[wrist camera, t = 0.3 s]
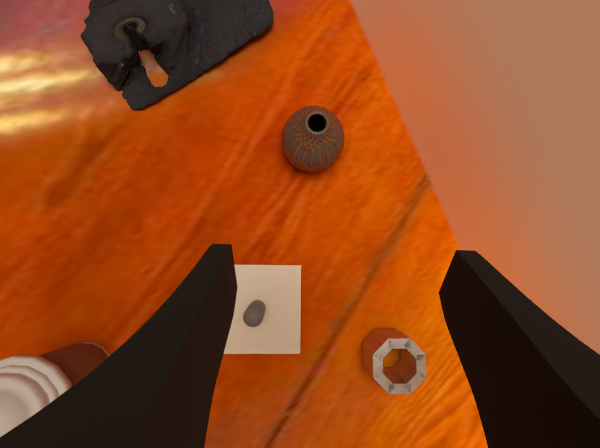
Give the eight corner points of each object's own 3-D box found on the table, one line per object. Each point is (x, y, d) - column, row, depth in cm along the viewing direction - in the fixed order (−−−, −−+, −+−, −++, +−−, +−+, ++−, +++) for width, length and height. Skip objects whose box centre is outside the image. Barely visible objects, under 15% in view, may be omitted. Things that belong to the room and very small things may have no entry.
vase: (349, 147, 42) (367, 119, 33) (313, 189, 41) (321, 171, 32) (306, 111, 42) (312, 74, 33) (270, 152, 41) (266, 125, 33)
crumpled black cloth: (289, 46, 43) (290, 21, 38) (128, 120, 41) (107, 103, 37) (235, -56, 44) (230, -93, 39) (75, 13, 42) (49, -18, 37)
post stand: (299, 352, 39) (302, 368, 34) (212, 352, 39) (200, 368, 33) (300, 265, 40) (303, 266, 35) (215, 264, 40) (204, 266, 34)
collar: (408, 376, 40) (426, 393, 35) (362, 376, 39) (373, 394, 34) (407, 328, 40) (425, 338, 35) (361, 328, 40) (372, 338, 35)
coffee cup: (65, 429, 38) (-37, 510, 26) (29, 354, 38) (-87, 401, 26) (141, 386, 38) (76, 447, 26) (105, 314, 39) (25, 341, 27)
